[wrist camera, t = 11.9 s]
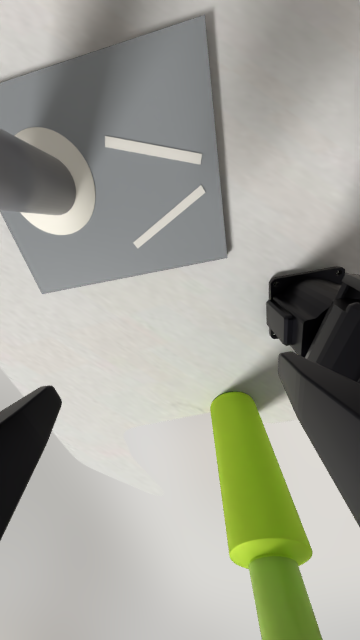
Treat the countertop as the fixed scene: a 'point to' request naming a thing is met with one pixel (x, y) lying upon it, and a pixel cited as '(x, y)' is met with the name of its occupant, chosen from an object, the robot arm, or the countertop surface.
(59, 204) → the marker
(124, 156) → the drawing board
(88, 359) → the countertop surface
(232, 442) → the soap dispenser
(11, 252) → the countertop surface
